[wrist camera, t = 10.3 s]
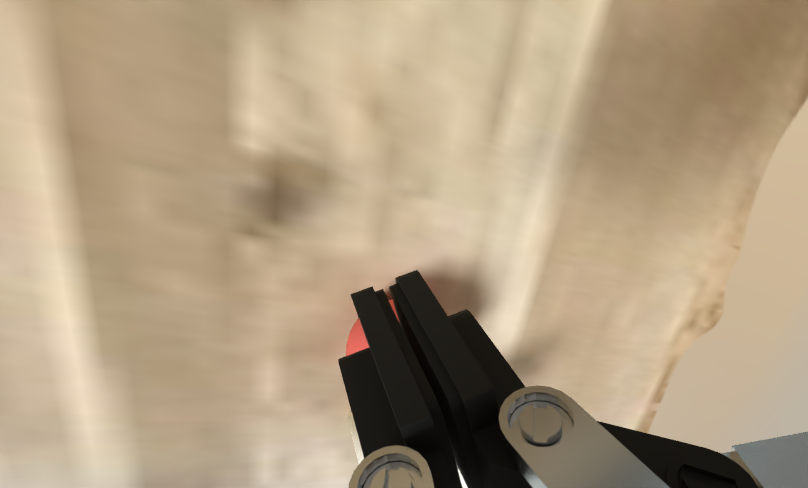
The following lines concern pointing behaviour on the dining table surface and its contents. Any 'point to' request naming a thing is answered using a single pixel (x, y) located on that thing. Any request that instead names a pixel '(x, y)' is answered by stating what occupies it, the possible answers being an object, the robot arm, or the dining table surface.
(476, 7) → the dining table surface
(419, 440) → the robot arm
